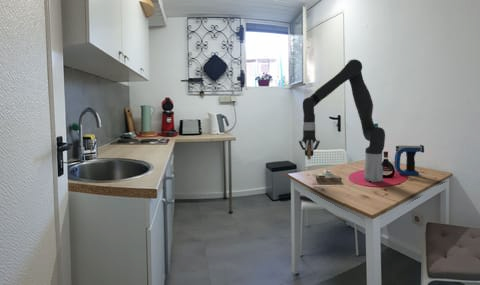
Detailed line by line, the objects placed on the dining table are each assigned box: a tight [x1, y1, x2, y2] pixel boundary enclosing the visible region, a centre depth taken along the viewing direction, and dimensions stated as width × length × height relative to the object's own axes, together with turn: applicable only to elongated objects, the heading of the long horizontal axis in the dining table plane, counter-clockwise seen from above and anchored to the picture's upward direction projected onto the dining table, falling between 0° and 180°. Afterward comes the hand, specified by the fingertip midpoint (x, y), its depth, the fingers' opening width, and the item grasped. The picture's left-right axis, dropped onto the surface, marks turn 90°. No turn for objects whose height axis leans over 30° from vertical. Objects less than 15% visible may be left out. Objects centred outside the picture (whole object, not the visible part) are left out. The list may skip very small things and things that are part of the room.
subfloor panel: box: [311, 173, 323, 181], centre depth 169 cm, size 14×21×1 cm, turn 175°
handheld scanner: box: [394, 144, 425, 176], centre depth 175 cm, size 5×16×20 cm, turn 78°
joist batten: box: [315, 174, 343, 184], centre depth 161 cm, size 14×5×3 cm, turn 85°
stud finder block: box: [322, 170, 334, 175], centre depth 168 cm, size 5×7×4 cm
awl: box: [306, 145, 312, 160], centre depth 171 cm, size 3×3×9 cm
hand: (309, 155), depth 171 cm, fingers closed on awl, 2 cm apart
